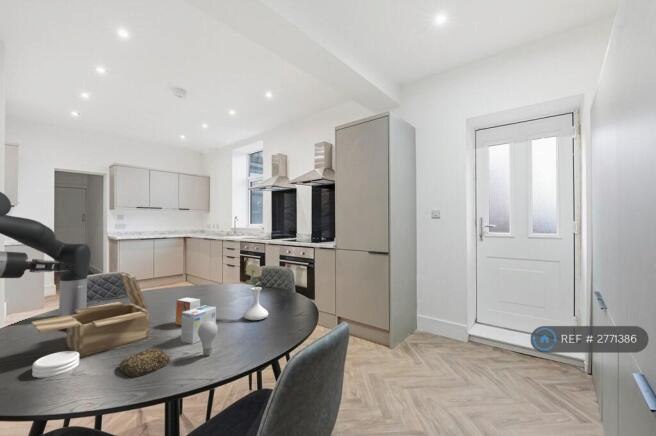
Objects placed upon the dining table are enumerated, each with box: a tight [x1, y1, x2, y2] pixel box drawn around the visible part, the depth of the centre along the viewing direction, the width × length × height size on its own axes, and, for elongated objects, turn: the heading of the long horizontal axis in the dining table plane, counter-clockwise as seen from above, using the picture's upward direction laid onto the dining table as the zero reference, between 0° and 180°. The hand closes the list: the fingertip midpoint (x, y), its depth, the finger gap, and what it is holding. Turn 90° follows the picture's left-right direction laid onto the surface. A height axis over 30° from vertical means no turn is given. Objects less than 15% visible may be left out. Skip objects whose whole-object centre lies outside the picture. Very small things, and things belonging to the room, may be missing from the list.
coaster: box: [31, 350, 80, 379], centre depth 84 cm, size 10×10×4 cm
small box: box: [175, 296, 201, 326], centre depth 123 cm, size 8×6×10 cm
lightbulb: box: [198, 321, 219, 356], centre depth 94 cm, size 6×6×11 cm
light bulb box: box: [180, 304, 217, 345], centre depth 108 cm, size 11×7×11 cm, turn 154°
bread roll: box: [119, 348, 171, 378], centre depth 87 cm, size 13×12×5 cm
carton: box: [31, 301, 150, 359], centre depth 100 cm, size 26×29×11 cm
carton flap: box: [118, 272, 149, 310], centre depth 110 cm, size 14×1×13 cm, turn 54°
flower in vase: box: [242, 263, 269, 321], centre depth 132 cm, size 13×11×25 cm
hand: (71, 266), depth 95 cm, fingers open, 8 cm apart
